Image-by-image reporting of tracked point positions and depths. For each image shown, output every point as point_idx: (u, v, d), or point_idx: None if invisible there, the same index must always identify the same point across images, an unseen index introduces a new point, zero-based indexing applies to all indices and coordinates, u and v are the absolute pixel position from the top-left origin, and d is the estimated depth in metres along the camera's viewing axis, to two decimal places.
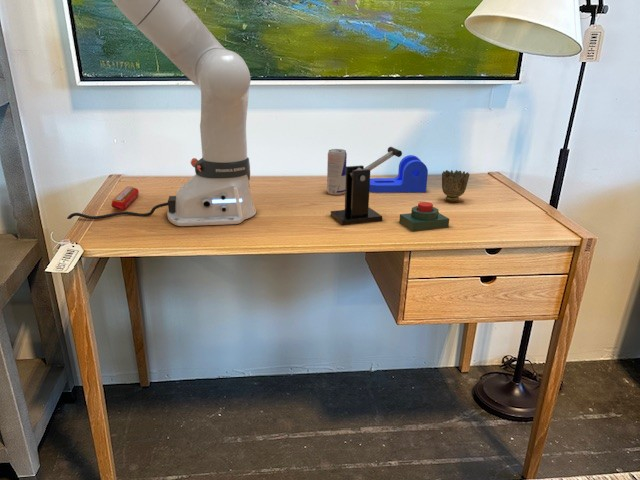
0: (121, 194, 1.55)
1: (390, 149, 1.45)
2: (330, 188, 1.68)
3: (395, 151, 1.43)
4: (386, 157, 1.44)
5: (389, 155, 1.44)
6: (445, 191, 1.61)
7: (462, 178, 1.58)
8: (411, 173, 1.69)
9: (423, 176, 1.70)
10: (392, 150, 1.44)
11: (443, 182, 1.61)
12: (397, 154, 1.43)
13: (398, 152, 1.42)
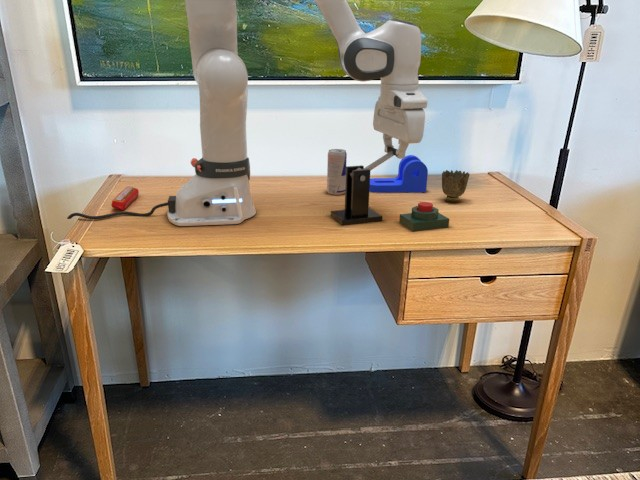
0: (121, 194, 1.55)
1: (390, 149, 1.45)
2: (330, 188, 1.68)
3: (395, 151, 1.43)
4: (386, 157, 1.44)
5: (389, 155, 1.44)
6: (445, 191, 1.61)
7: (462, 178, 1.58)
8: (411, 173, 1.69)
9: (423, 176, 1.70)
10: (392, 150, 1.44)
11: (443, 182, 1.61)
12: None
13: None
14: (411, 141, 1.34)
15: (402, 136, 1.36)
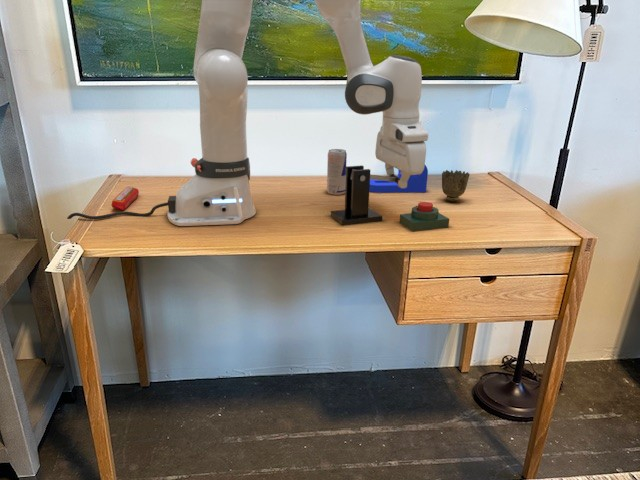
0: (121, 194, 1.55)
1: (393, 176, 1.49)
2: (330, 188, 1.68)
3: (398, 178, 1.47)
4: (388, 178, 1.47)
5: (391, 178, 1.47)
6: (445, 191, 1.61)
7: (462, 178, 1.58)
8: None
9: (423, 176, 1.70)
10: (395, 177, 1.48)
11: (443, 182, 1.61)
12: None
13: None
14: (413, 173, 1.38)
15: (404, 168, 1.40)
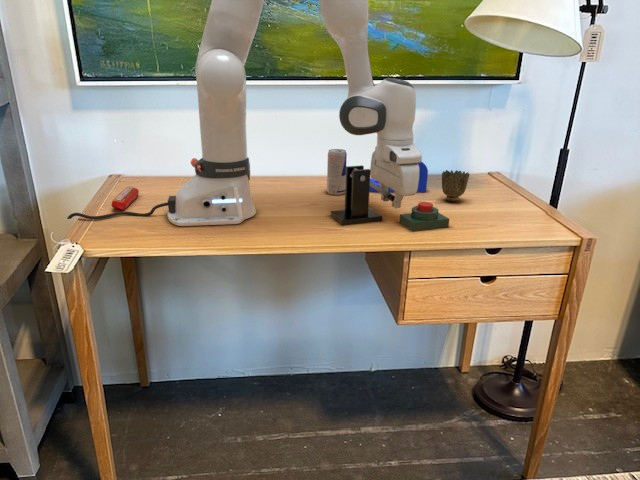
0: (121, 194, 1.55)
1: (388, 192, 1.50)
2: (330, 188, 1.68)
3: (392, 195, 1.48)
4: (383, 191, 1.48)
5: (385, 193, 1.48)
6: (445, 191, 1.61)
7: (462, 178, 1.58)
8: None
9: (423, 176, 1.70)
10: (389, 193, 1.49)
11: (443, 182, 1.61)
12: (392, 197, 1.47)
13: (394, 197, 1.48)
14: (406, 194, 1.40)
15: (398, 188, 1.42)
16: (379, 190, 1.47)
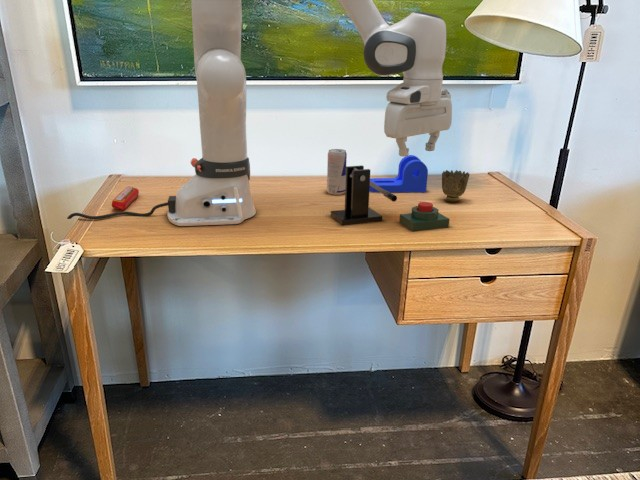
0: (121, 194, 1.55)
1: (388, 191, 1.50)
2: (330, 188, 1.68)
3: (393, 194, 1.48)
4: (383, 191, 1.48)
5: (386, 192, 1.48)
6: (445, 191, 1.61)
7: (462, 178, 1.58)
8: (411, 173, 1.69)
9: (423, 176, 1.70)
10: (390, 193, 1.49)
11: (443, 182, 1.61)
12: (393, 197, 1.47)
13: (395, 196, 1.48)
14: (386, 134, 1.33)
15: None
16: (379, 190, 1.47)
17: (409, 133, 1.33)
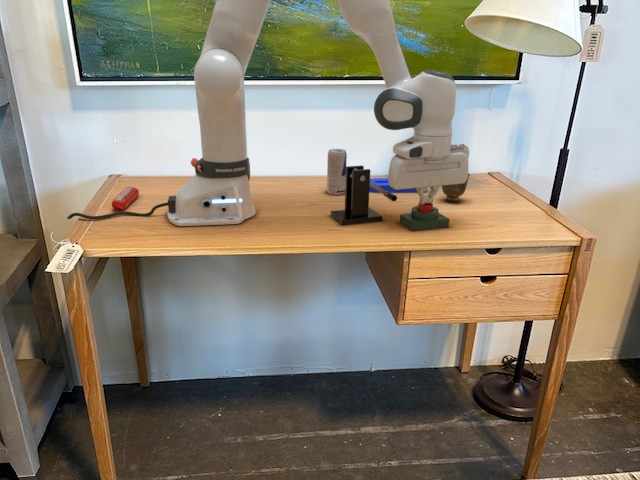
0: (121, 194, 1.55)
1: (388, 191, 1.50)
2: (330, 188, 1.68)
3: (393, 194, 1.48)
4: (383, 191, 1.48)
5: (386, 192, 1.48)
6: (445, 191, 1.61)
7: None
8: None
9: None
10: (390, 193, 1.49)
11: None
12: (393, 197, 1.47)
13: (395, 196, 1.48)
14: None
15: None
16: (379, 190, 1.47)
17: (412, 185, 1.37)
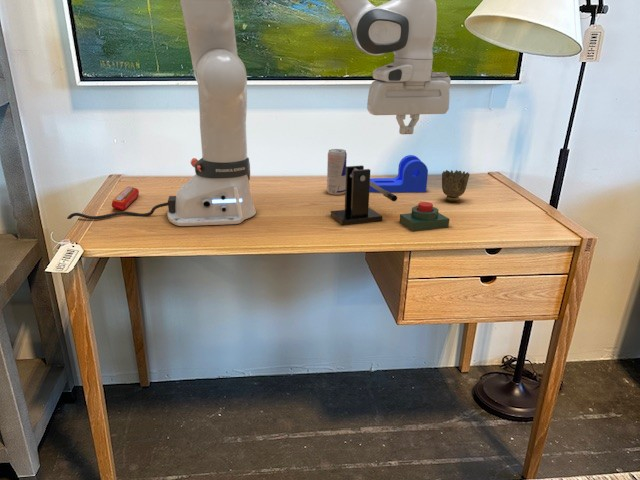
0: (121, 194, 1.55)
1: (388, 191, 1.50)
2: (330, 188, 1.68)
3: (393, 194, 1.48)
4: (383, 191, 1.48)
5: (386, 192, 1.48)
6: (445, 191, 1.61)
7: (462, 178, 1.58)
8: (411, 173, 1.69)
9: (423, 176, 1.70)
10: (390, 193, 1.49)
11: (443, 182, 1.61)
12: (393, 197, 1.47)
13: (395, 196, 1.48)
14: None
15: None
16: (379, 190, 1.47)
17: (391, 111, 1.35)
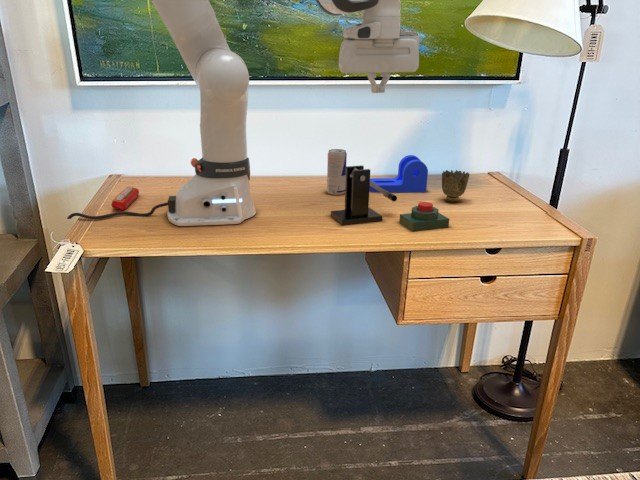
0: (121, 194, 1.55)
1: (388, 191, 1.50)
2: (330, 188, 1.68)
3: (393, 194, 1.48)
4: (383, 191, 1.48)
5: (386, 192, 1.48)
6: (445, 191, 1.61)
7: (462, 178, 1.58)
8: (411, 173, 1.69)
9: (423, 176, 1.70)
10: (390, 193, 1.49)
11: (443, 182, 1.61)
12: (393, 197, 1.47)
13: (395, 196, 1.48)
14: (340, 70, 1.40)
15: None
16: (379, 190, 1.47)
17: (362, 69, 1.39)
